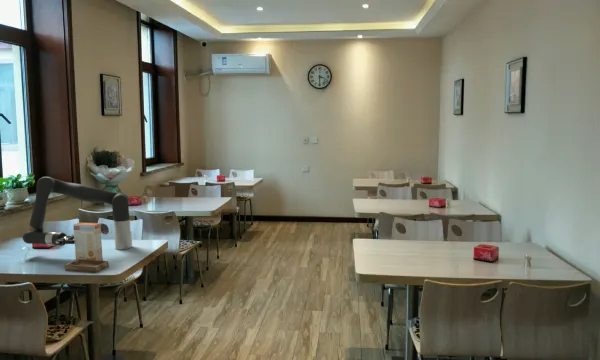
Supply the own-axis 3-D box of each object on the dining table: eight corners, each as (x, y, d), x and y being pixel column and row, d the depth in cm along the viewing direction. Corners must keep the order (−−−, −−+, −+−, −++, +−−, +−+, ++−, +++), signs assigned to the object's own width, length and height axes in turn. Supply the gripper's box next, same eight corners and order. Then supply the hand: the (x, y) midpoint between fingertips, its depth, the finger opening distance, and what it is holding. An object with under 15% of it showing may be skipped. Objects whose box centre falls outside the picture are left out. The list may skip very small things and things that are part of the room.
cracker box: (103, 259, 282) (101, 223, 280) (95, 262, 277) (93, 225, 274) (83, 257, 287) (80, 221, 284) (75, 260, 281) (72, 223, 279)
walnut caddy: (79, 264, 273) (79, 259, 273) (108, 266, 268) (108, 261, 268) (65, 270, 263) (64, 264, 263) (95, 272, 258) (94, 267, 258)
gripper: (45, 235, 280) (69, 236, 275) (64, 229, 293) (87, 231, 288) (46, 248, 280) (71, 250, 276) (65, 242, 294) (88, 243, 289)
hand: (79, 240), depth 282 cm, fingers open, 8 cm apart
